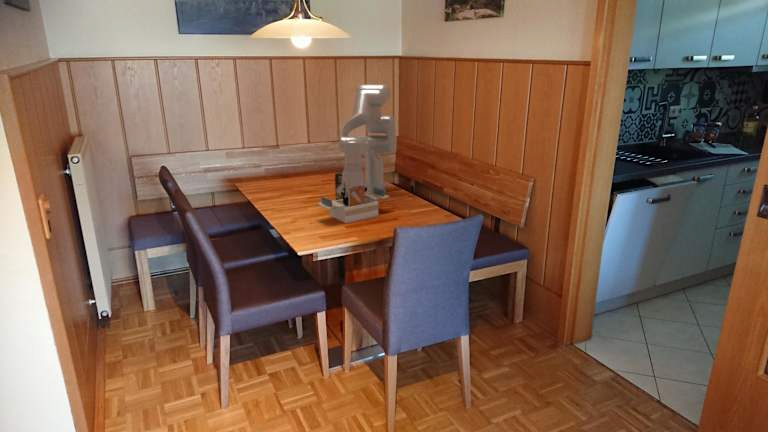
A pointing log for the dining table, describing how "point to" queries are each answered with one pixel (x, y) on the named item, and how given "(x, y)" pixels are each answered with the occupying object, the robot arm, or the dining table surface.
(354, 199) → the small box
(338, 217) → the carton
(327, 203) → the lid panel
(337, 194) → the coffee box
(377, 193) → the lid panel
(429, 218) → the dining table surface
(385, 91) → the robot arm
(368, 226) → the dining table surface
